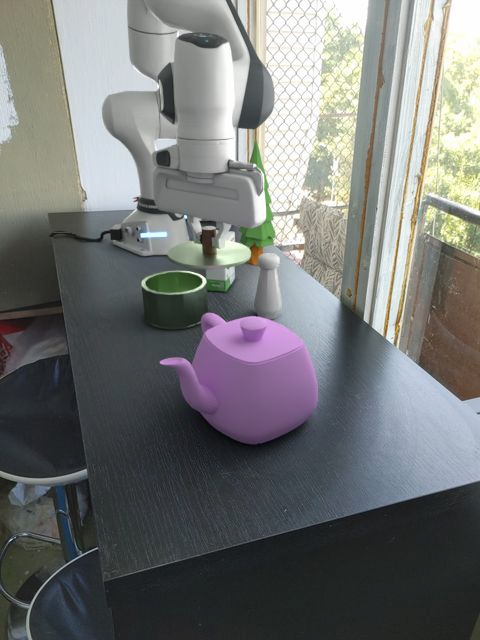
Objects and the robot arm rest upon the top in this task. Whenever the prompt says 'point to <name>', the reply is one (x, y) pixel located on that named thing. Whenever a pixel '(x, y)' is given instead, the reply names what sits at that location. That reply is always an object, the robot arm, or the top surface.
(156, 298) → the bowl
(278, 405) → the teapot
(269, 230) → the decorative tree
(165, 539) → the top surface
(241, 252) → the lid
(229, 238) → the ink box
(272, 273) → the salt shaker
